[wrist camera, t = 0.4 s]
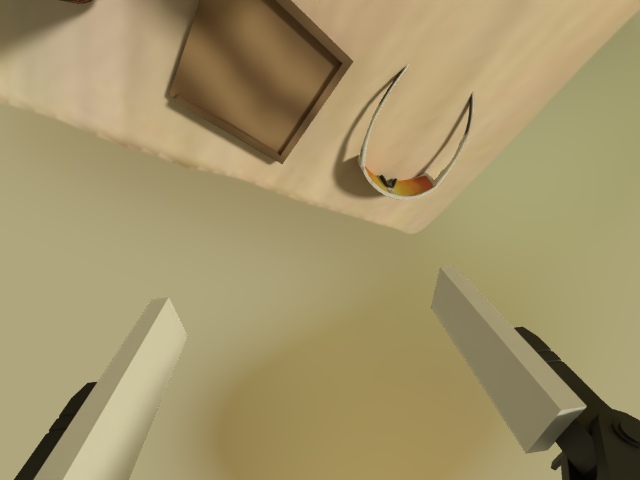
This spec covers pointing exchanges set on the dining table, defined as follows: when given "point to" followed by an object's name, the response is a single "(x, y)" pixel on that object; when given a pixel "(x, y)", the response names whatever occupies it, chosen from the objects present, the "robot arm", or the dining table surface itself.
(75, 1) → the beverage can
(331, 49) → the far tray
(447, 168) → the sunglasses
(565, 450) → the robot arm
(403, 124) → the dining table surface
